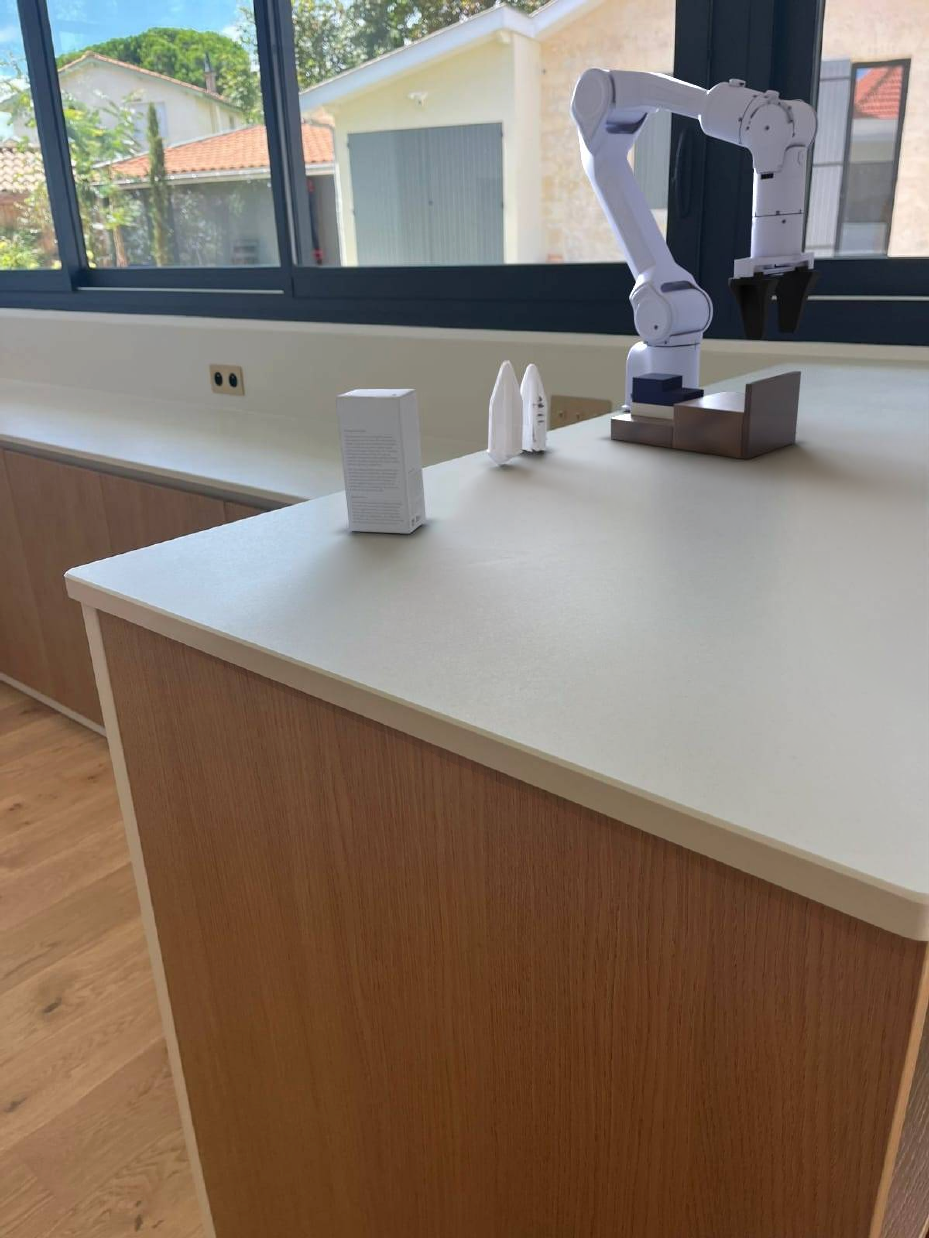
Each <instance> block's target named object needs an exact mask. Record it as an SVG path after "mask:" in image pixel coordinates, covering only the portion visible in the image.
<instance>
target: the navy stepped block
mask: <svg viewBox="0 0 929 1238" xmlns="http://www.w3.org/2000/svg"><path fill="white" fill-rule="evenodd" d="M682 379H683V375H673V374H662V373H649V374H645V375H640V376H636V377H633V380H632V402H630V410H629V414H631V415H638V416H646V417H654V418H662V419H670V420H673V408H674V404H677V403H681V402H685V401H689V400H693V399H697V398H700V397H704V396H705V389H703V388H698V389H694V388H684V387H682Z"/></svg>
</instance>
